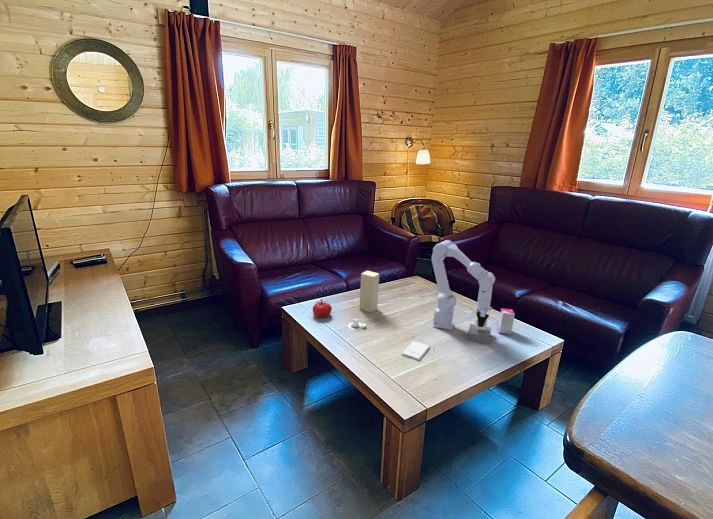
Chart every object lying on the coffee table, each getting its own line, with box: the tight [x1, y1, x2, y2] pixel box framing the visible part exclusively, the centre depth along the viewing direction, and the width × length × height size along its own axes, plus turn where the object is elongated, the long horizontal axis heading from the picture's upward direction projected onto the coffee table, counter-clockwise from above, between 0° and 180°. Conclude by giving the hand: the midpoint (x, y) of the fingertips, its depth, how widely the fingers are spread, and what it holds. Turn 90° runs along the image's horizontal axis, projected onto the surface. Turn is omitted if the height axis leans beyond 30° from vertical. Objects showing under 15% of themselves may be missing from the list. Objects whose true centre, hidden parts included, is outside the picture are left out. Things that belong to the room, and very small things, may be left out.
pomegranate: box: [312, 298, 333, 319], centre depth 201 cm, size 10×10×9 cm
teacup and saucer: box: [347, 318, 367, 331], centre depth 192 cm, size 9×8×4 cm
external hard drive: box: [401, 340, 431, 361], centre depth 171 cm, size 2×8×12 cm
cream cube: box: [474, 315, 488, 330], centre depth 183 cm, size 5×5×5 cm
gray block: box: [466, 323, 492, 345], centre depth 185 cm, size 10×10×4 cm
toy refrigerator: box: [359, 270, 380, 313], centre depth 209 cm, size 8×7×21 cm
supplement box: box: [497, 308, 516, 336], centre depth 189 cm, size 6×6×12 cm
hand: (480, 324), depth 183 cm, fingers closed on cream cube, 5 cm apart
